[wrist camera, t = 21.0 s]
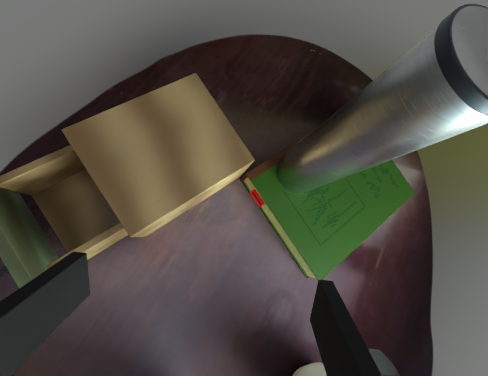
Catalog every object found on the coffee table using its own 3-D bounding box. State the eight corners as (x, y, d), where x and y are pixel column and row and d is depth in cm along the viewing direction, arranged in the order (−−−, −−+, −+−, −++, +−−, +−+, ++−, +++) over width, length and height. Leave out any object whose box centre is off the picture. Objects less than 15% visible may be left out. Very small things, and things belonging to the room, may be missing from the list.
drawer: (24, 305, 26) (-28, 328, 20) (-30, 216, 27) (-98, 210, 21) (175, 212, 33) (172, 206, 26) (128, 140, 33) (114, 117, 27)
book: (340, 116, 44) (353, 105, 41) (396, 196, 44) (415, 192, 40) (236, 182, 37) (242, 176, 33) (303, 280, 36) (315, 285, 32)
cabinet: (144, 237, 32) (129, 237, 24) (92, 156, 32) (60, 129, 24) (239, 177, 37) (255, 159, 29) (193, 108, 38) (195, 72, 29)
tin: (267, 168, 34) (428, 32, 12) (296, 143, 36) (481, -13, 14) (296, 203, 34) (516, 135, 12) (324, 176, 36) (555, 73, 14)
